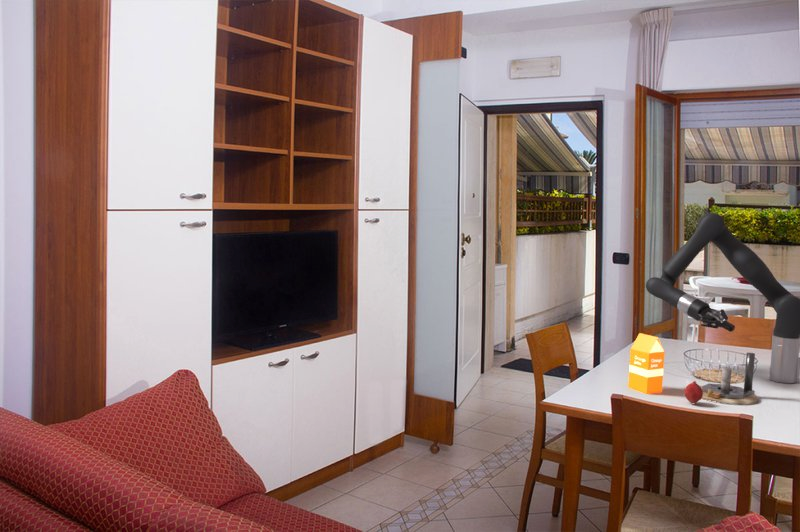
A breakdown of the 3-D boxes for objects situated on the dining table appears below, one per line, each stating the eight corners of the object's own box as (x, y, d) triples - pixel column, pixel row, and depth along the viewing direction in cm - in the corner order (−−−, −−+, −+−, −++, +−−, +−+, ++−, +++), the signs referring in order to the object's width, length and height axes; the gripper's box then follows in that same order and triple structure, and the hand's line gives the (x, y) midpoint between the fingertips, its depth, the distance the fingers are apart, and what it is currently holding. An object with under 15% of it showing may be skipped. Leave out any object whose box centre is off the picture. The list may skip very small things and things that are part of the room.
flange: (756, 393, 252) (759, 353, 250) (738, 402, 239) (741, 361, 237) (713, 384, 262) (716, 346, 260) (693, 393, 249) (696, 353, 248)
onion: (680, 401, 244) (681, 378, 243) (696, 401, 244) (698, 378, 243) (688, 406, 238) (690, 382, 237) (705, 406, 238) (706, 382, 237)
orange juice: (646, 394, 251) (650, 338, 249) (627, 387, 259) (631, 333, 257) (662, 391, 255) (666, 336, 253) (643, 385, 263) (647, 331, 261)
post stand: (736, 387, 263) (738, 361, 262) (771, 404, 242) (773, 376, 241) (681, 387, 261) (683, 360, 260) (712, 405, 240) (714, 375, 239)
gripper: (683, 304, 268) (724, 326, 256) (705, 293, 275) (746, 314, 262) (679, 320, 272) (720, 343, 260) (701, 309, 279) (741, 331, 266)
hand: (733, 329), depth 261 cm, fingers closed
